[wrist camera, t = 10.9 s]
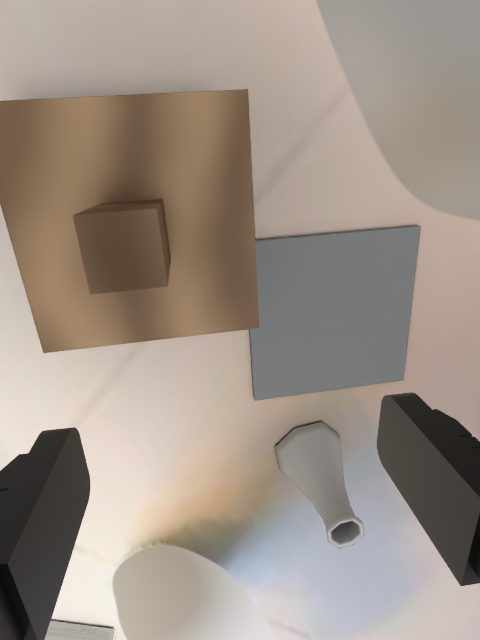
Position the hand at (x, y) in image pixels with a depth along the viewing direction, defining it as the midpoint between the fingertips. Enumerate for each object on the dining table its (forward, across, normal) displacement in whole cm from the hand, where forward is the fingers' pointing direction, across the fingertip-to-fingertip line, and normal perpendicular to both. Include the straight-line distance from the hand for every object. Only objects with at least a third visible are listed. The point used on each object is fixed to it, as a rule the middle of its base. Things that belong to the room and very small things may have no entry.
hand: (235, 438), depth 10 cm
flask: (+23, -9, +21) cm, 33 cm away
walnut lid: (+16, +4, -3) cm, 17 cm away
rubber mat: (+23, -11, +6) cm, 26 cm away
